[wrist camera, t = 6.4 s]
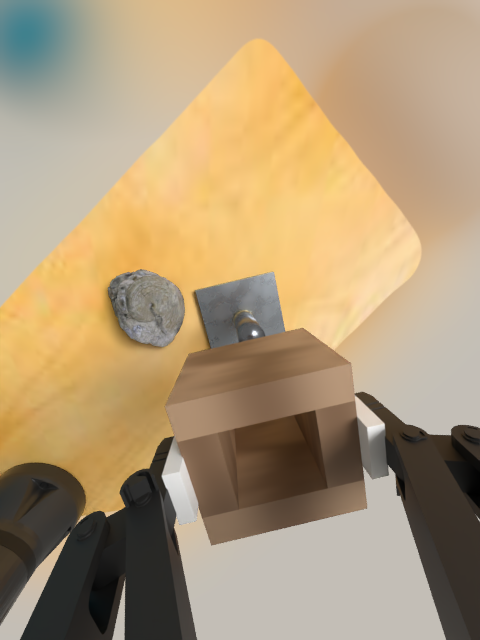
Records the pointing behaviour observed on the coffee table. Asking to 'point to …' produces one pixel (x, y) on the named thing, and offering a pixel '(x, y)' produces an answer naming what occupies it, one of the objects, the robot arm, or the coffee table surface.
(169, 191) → the coffee table surface
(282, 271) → the coffee table surface
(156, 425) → the coffee table surface
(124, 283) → the fossilized seashell
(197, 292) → the knob on metal plate
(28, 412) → the coffee table surface
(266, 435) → the collar
